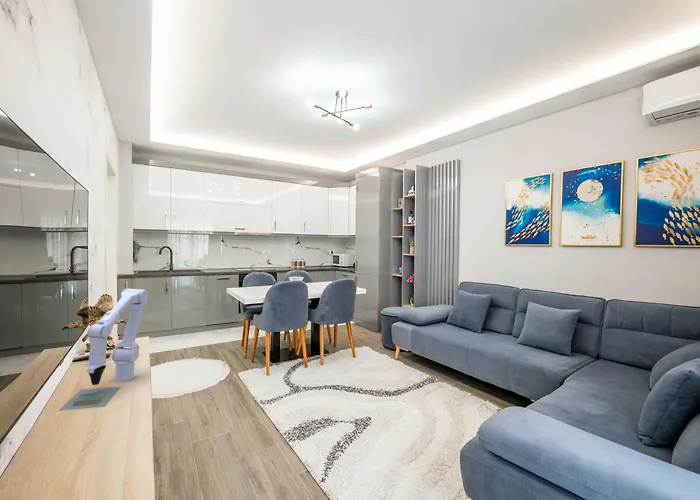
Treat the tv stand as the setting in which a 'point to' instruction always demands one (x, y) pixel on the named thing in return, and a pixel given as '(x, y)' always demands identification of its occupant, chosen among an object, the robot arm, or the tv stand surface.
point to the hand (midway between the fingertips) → (95, 384)
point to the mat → (104, 401)
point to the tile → (88, 399)
